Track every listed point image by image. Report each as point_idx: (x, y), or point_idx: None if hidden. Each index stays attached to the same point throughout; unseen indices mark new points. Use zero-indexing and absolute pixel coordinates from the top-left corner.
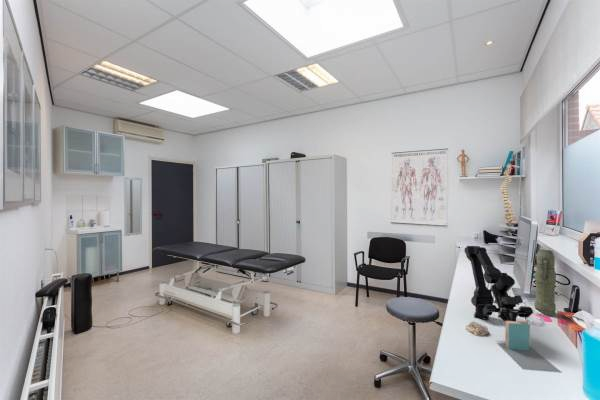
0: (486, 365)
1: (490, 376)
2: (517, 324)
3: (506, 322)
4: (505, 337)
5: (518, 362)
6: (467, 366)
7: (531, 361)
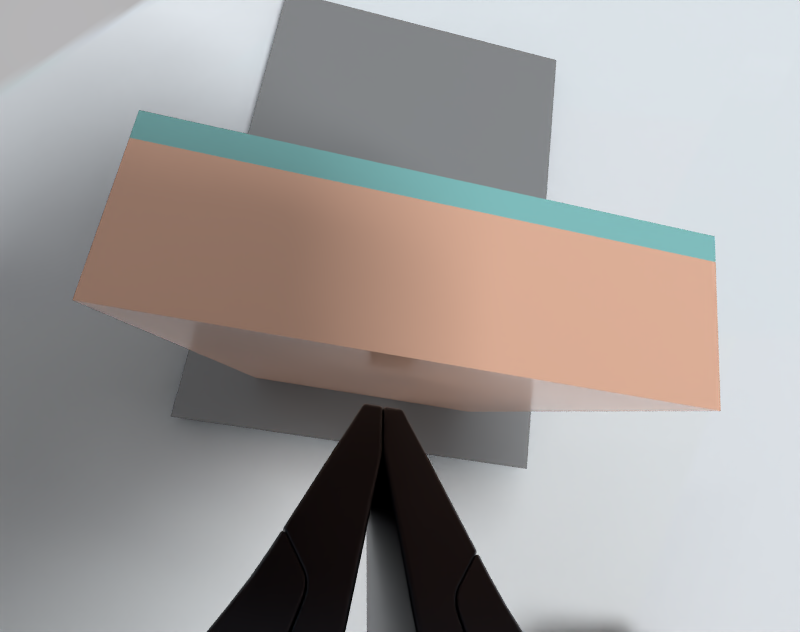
0: (761, 150)
1: (782, 49)
2: (490, 195)
3: (689, 365)
4: (504, 411)
5: (531, 136)
6: None
7: (411, 137)
